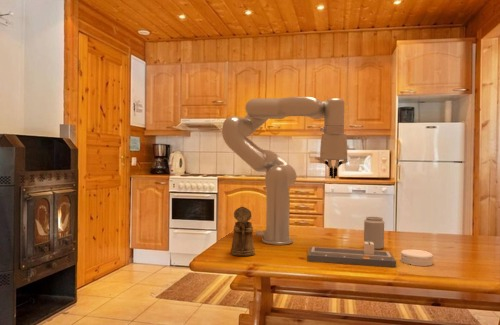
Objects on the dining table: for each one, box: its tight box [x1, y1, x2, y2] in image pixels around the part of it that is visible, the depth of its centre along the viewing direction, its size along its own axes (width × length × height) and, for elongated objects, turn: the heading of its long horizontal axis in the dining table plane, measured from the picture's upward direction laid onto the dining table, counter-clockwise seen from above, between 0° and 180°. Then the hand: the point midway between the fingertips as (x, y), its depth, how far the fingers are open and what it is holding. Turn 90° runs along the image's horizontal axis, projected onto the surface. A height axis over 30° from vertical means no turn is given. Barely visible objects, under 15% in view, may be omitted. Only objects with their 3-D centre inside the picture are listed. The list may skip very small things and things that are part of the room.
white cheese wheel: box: [400, 248, 434, 267], centre depth 128 cm, size 10×10×4 cm
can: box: [363, 216, 385, 251], centre depth 148 cm, size 8×8×12 cm
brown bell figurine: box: [229, 206, 256, 257], centre depth 134 cm, size 9×14×18 cm, turn 178°
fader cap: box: [363, 241, 375, 255], centre depth 128 cm, size 3×4×4 cm
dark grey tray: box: [307, 246, 397, 268], centre depth 130 cm, size 28×12×3 cm, turn 78°
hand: (333, 178), depth 146 cm, fingers closed
